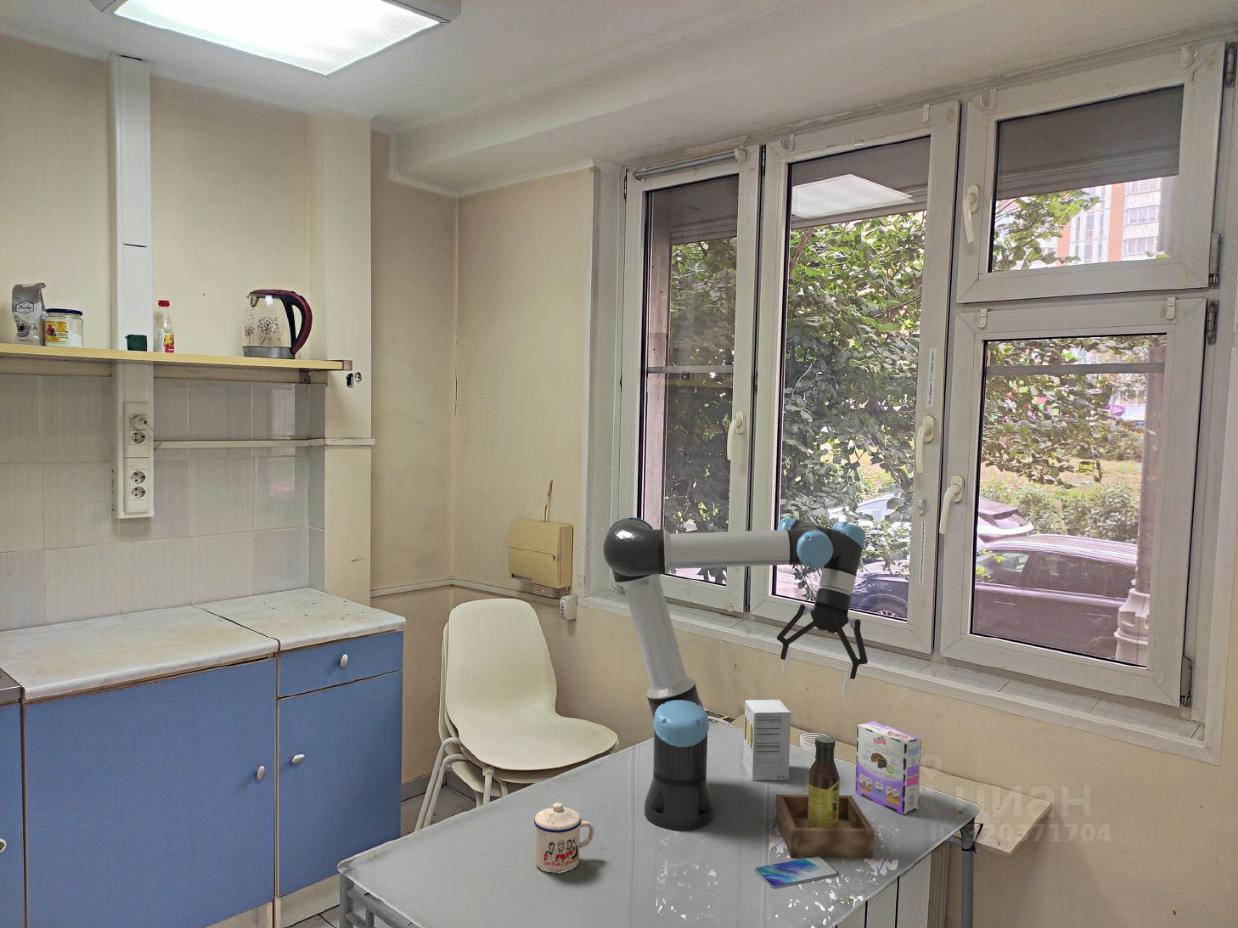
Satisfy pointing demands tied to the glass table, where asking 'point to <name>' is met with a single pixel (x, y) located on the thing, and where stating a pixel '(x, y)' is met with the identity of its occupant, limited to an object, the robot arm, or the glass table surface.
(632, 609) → the robot arm
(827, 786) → the sauce bottle
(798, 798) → the walled box
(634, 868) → the glass table surface
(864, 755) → the candy box
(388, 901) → the glass table surface
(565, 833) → the teacup with lid
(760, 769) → the supplement box
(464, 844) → the glass table surface
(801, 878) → the smartphone
